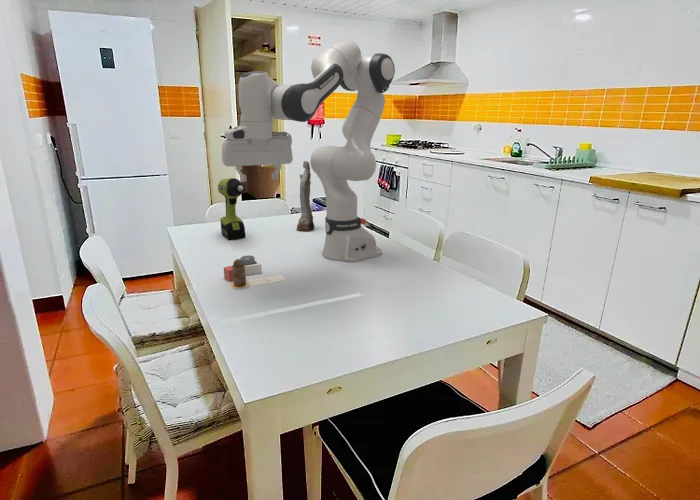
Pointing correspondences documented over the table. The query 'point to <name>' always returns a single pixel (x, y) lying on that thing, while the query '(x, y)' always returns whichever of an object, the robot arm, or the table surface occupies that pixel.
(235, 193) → the cordless drill
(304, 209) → the statue
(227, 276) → the red cube
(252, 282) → the board
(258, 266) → the housing
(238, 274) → the pawn
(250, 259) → the dome
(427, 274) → the table surface
